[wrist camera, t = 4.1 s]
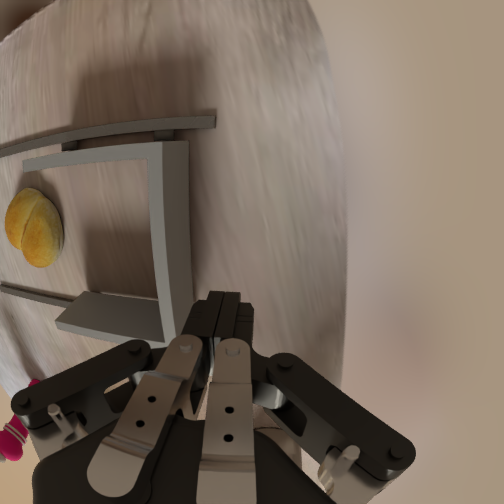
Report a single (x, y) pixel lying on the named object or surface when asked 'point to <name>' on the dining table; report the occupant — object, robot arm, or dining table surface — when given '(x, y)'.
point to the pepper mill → (13, 437)
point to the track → (91, 132)
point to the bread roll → (34, 227)
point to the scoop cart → (163, 246)
